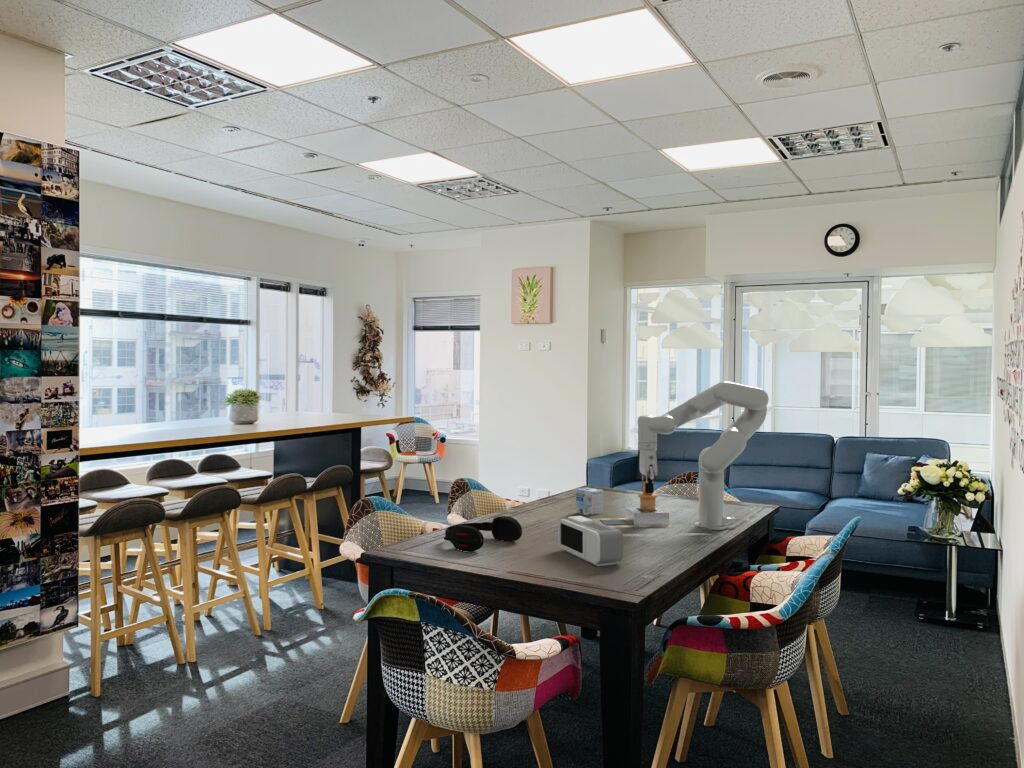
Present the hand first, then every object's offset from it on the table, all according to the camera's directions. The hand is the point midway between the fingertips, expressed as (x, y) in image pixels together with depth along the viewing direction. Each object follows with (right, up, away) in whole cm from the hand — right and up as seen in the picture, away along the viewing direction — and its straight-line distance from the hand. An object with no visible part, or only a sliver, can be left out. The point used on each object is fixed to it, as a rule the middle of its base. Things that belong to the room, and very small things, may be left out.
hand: (647, 491), depth 310 cm
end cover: (0, -7, 0) cm, 7 cm away
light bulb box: (-21, -13, +23) cm, 34 cm away
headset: (-64, -14, -38) cm, 76 cm away
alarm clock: (-29, -14, -55) cm, 64 cm away
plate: (-6, -13, 0) cm, 15 cm away
